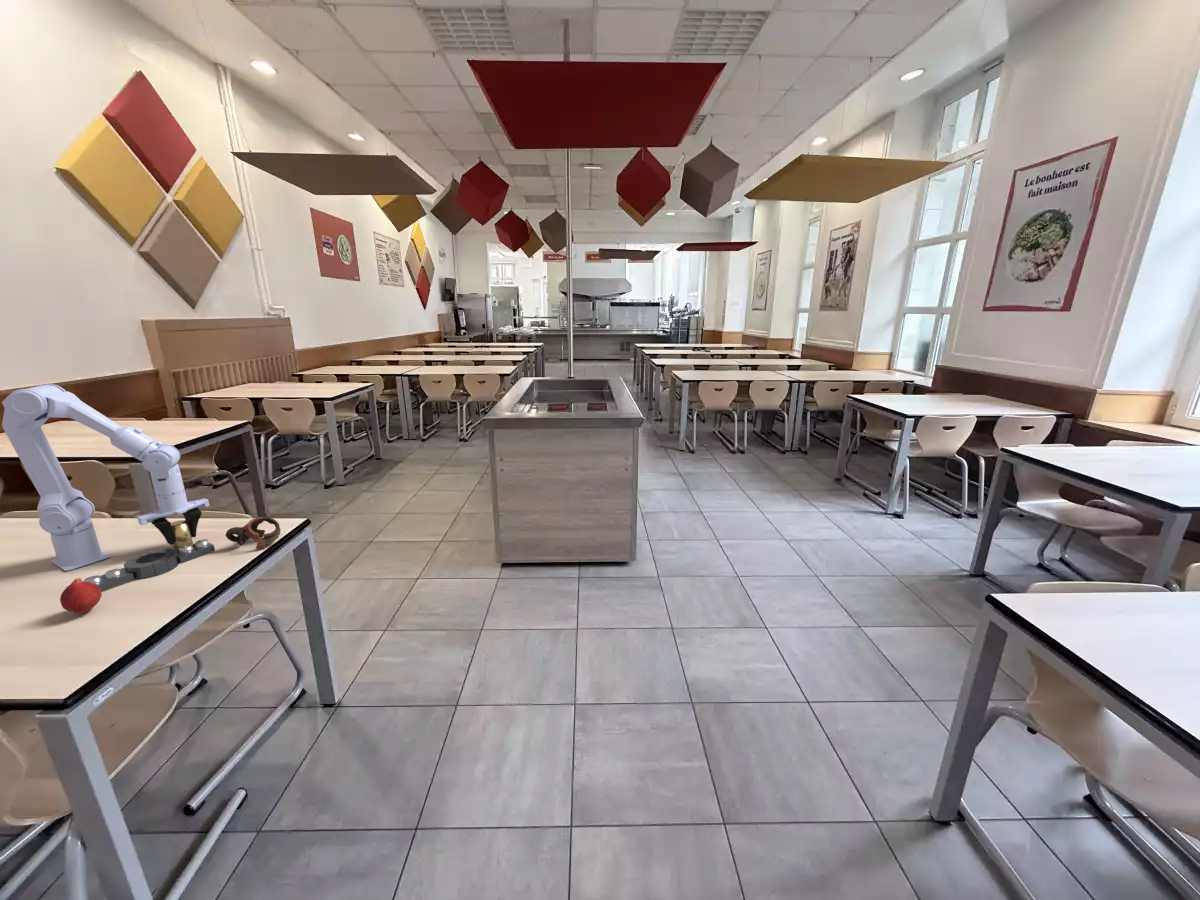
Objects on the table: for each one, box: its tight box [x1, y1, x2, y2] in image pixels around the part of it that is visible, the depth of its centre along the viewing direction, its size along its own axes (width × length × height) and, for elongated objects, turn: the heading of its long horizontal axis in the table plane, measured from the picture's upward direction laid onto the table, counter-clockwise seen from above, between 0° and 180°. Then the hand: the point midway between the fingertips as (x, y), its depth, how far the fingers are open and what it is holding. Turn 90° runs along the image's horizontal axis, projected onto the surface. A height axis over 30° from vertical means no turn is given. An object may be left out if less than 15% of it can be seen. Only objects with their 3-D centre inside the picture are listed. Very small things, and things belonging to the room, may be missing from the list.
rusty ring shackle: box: [225, 516, 282, 550], centre depth 131 cm, size 12×10×8 cm
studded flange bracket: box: [83, 538, 216, 593], centre depth 119 cm, size 9×24×3 cm, turn 152°
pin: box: [171, 519, 194, 550], centre depth 129 cm, size 4×4×7 cm
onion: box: [59, 577, 103, 614], centre depth 101 cm, size 6×6×8 cm
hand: (182, 539), depth 129 cm, fingers open, 4 cm apart
